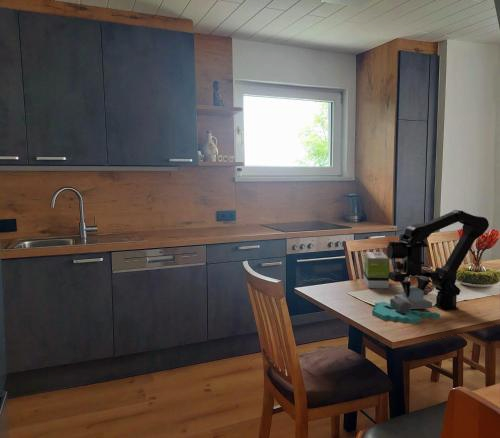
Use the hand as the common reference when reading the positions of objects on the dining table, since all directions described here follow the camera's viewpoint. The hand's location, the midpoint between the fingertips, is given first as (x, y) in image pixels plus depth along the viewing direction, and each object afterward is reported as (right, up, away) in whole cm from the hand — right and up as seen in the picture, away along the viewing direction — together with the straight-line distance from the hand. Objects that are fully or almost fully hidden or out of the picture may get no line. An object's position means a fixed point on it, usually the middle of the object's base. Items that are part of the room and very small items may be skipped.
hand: (413, 296), depth 155 cm
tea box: (-3, -1, +37) cm, 37 cm away
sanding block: (0, -3, 0) cm, 3 cm away
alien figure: (-7, -6, -4) cm, 10 cm away
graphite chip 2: (-7, -4, -6) cm, 10 cm away
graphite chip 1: (-7, -4, -2) cm, 8 cm away
